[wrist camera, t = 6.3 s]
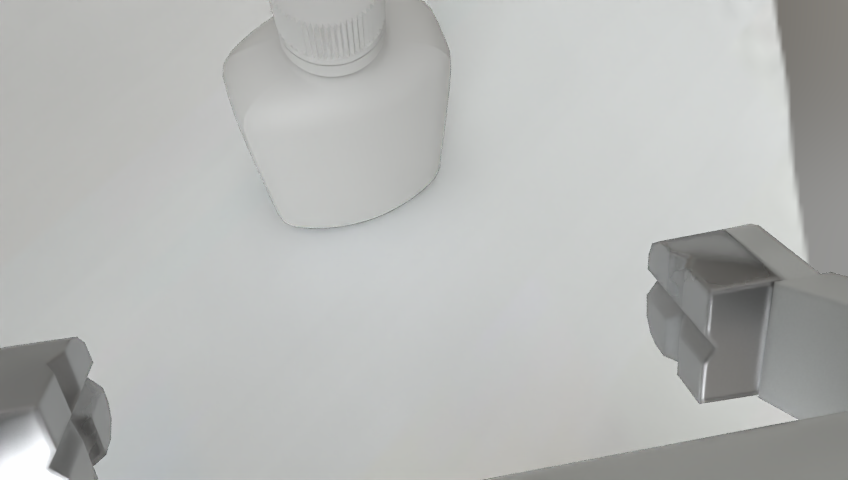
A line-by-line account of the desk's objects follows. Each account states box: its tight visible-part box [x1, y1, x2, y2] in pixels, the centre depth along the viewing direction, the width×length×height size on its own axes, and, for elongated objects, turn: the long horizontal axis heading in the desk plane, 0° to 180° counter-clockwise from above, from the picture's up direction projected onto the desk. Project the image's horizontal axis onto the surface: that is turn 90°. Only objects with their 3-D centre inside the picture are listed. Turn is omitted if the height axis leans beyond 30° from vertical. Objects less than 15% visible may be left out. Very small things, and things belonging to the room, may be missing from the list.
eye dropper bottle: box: [223, 0, 451, 228], centre depth 19 cm, size 4×6×12 cm
